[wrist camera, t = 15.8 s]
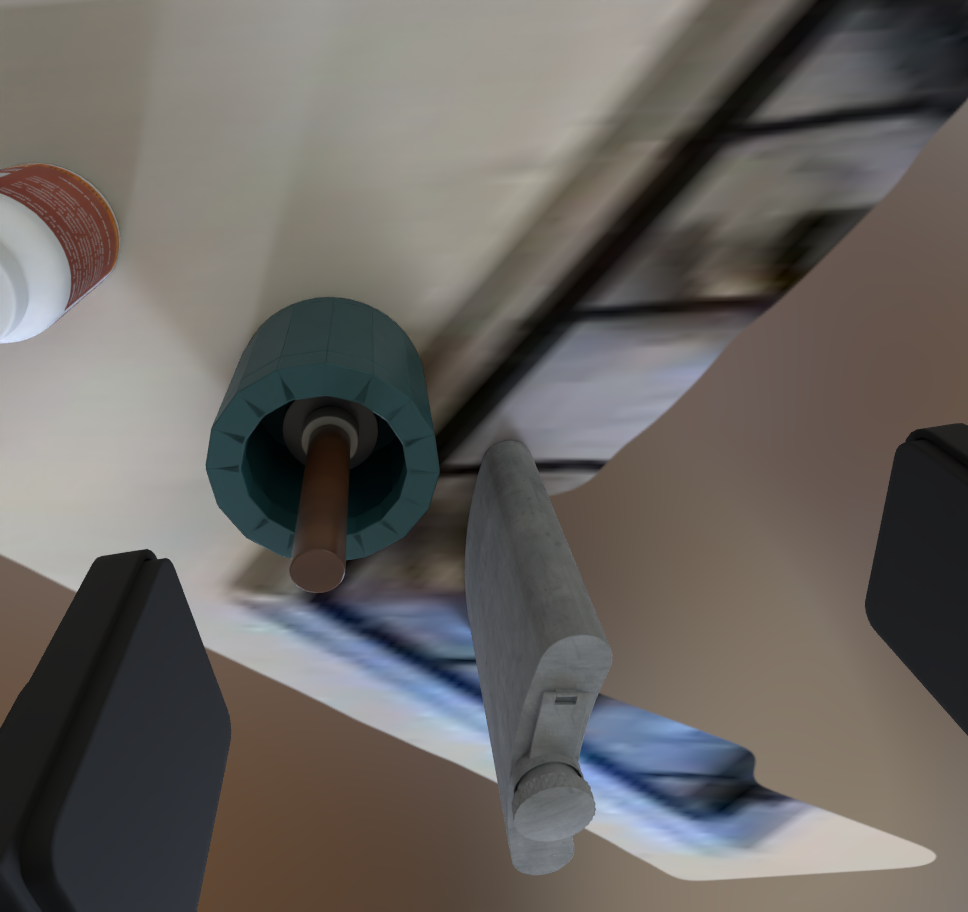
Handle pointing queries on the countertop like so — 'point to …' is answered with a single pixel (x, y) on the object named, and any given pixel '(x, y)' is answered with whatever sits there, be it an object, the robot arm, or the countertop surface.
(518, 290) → the countertop surface
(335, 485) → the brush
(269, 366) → the jar
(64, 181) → the pill bottle
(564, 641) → the hip flask
